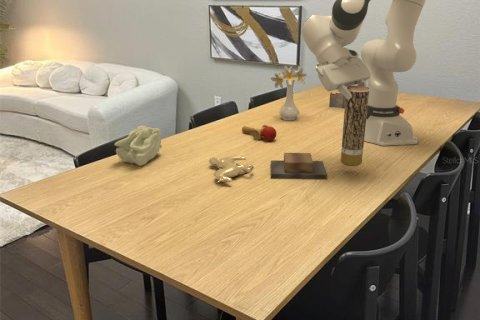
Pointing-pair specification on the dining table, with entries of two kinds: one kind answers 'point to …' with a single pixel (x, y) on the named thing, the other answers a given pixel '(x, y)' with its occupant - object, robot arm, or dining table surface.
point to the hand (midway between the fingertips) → (358, 95)
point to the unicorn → (229, 168)
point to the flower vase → (289, 90)
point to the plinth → (314, 175)
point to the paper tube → (354, 126)
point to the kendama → (261, 132)
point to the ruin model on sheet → (337, 100)
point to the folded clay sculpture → (139, 145)
